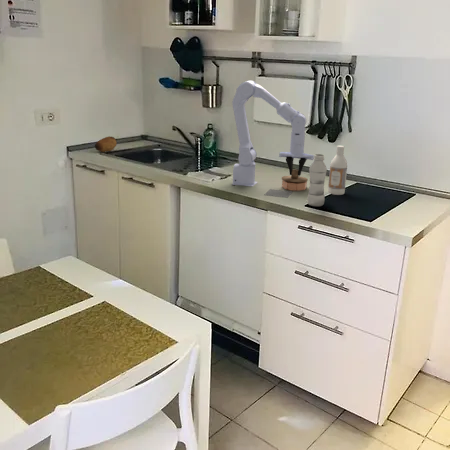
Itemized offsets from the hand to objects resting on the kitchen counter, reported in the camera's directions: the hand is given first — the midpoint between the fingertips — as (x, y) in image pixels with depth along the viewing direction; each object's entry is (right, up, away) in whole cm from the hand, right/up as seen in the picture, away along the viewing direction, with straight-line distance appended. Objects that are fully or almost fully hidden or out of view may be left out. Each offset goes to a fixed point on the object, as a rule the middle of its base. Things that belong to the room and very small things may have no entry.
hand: (295, 174), depth 226 cm
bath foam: (+17, -8, -3) cm, 19 cm away
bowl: (0, -6, +2) cm, 6 cm away
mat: (-8, -9, -8) cm, 14 cm away
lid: (0, -2, 0) cm, 2 cm away
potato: (-96, +19, +65) cm, 117 cm away
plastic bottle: (+5, -14, -22) cm, 26 cm away
